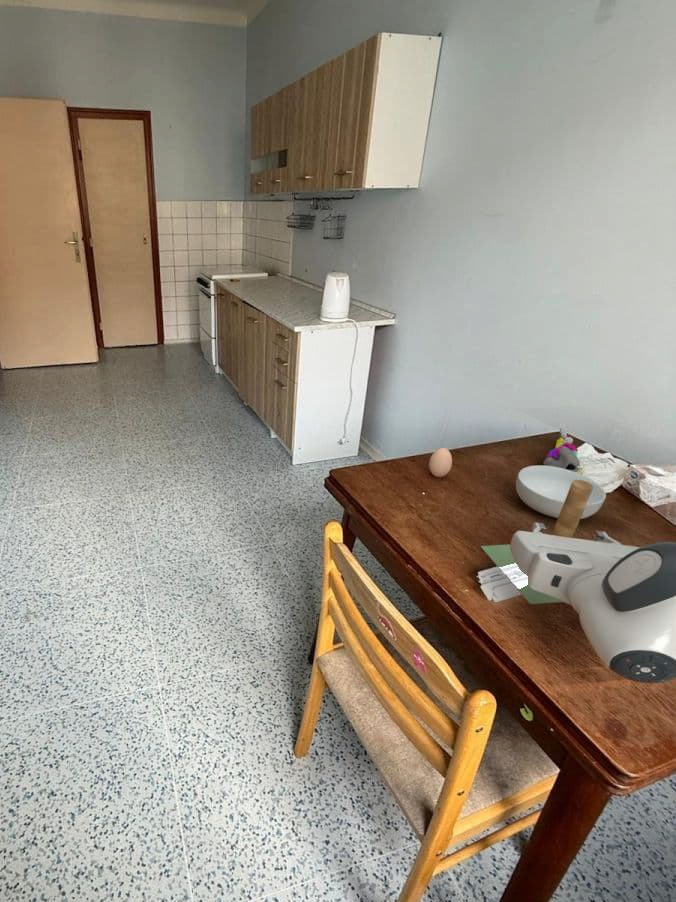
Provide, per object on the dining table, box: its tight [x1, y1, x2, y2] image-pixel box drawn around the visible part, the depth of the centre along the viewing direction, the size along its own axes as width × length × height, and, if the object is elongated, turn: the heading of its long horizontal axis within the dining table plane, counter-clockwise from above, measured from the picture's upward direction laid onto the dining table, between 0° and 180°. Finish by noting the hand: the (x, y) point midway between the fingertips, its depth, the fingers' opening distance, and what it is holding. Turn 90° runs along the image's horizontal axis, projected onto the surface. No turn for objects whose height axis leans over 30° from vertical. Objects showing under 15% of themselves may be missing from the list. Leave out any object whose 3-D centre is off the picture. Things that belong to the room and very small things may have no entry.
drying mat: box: [480, 543, 564, 605], centre depth 91 cm, size 18×16×1 cm
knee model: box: [542, 427, 587, 476], centre depth 127 cm, size 9×8×25 cm
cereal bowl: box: [515, 465, 607, 520], centre depth 108 cm, size 17×17×7 cm
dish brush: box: [551, 480, 593, 538], centre depth 85 cm, size 6×6×20 cm
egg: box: [428, 447, 453, 478], centre depth 121 cm, size 5×5×8 cm
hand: (567, 529), depth 84 cm, fingers open, 8 cm apart
